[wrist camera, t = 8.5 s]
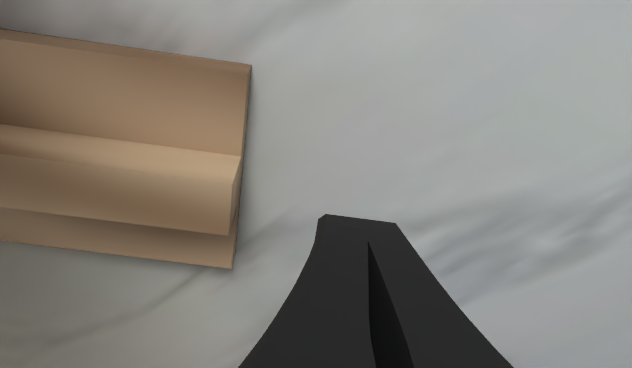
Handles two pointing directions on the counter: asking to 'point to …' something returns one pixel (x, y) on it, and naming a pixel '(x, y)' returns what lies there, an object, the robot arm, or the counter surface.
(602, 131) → the counter surface
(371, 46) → the counter surface
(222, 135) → the rail board
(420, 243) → the counter surface
